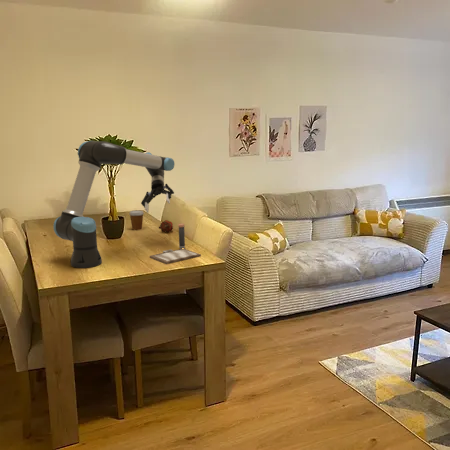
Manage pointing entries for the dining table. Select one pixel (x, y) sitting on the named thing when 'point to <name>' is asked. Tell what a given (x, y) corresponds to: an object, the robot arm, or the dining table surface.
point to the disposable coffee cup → (136, 219)
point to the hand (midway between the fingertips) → (157, 206)
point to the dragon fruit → (166, 226)
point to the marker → (181, 236)
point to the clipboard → (174, 256)
